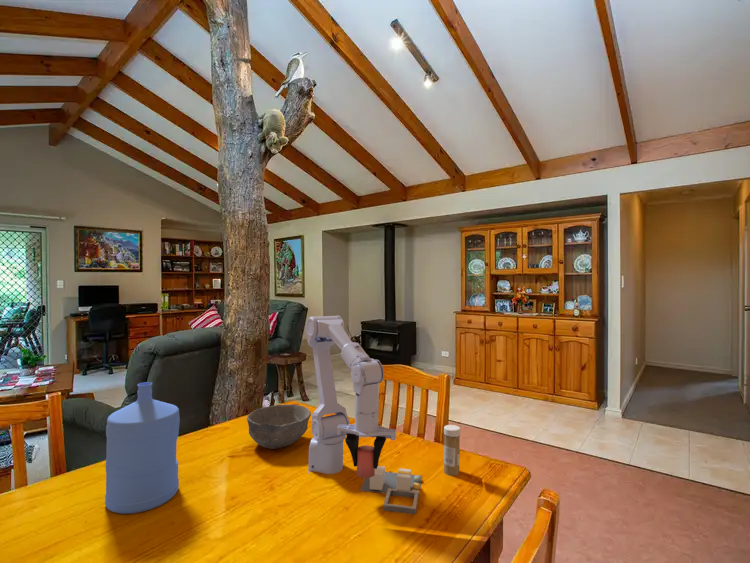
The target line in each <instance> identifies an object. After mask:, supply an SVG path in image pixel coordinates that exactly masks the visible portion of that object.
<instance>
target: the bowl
mask: <svg viewBox="0 0 750 563" xmlns="http://www.w3.org/2000/svg"><path fill="white" fill-rule="evenodd" d="M311 417H312V413H311V410H310V408H308V407H305V406H303V405H298V404H276V405H269V406H265V407H262V408H258V409H255V410H252V412H250V413H249V414H248V415H247V417H246V420H247V424H248V434H249V436H250V437H251V439H252V440H253V441H254V442H255V443H256V444H257V445H258V446H261V447H263V448H267V449H271V450H276V449H277V450H278V449H282V448H285V447H288V446H291V445H292V444H294V443H295V442H297V441H298V440H299V439H301V437H303V436H304V435H305V433H306V432H307V430H308V425H309V421H310V418H311Z"/></svg>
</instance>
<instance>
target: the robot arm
mask: <svg viewBox="0 0 750 563" xmlns="http://www.w3.org/2000/svg"><path fill="white" fill-rule="evenodd" d="M305 332H306V334H305V335H306V338H307V339H306V342H307V345H308V346H309V347H310V348H312V352H313V354H312V355H313V361H314V368H315V377H316V385H317V390H318V391H317V392H318V399H319V400H318V401H319V406H318V407H317V408H316V409H315V410H314V411H313V413H311V433H312V436H313V437H312V438H311V440H310V442H309V445H308V471H307V474H309V473H310V472H316V473H321V474H327V475H335V474H338V473H340V472H342V470H343V468H344V440H345V444H346V446H347V447H348V449H349V451H350V456H351V459H352V463H353V467H355V468H357V448H358V447H359V445H360V444H359V443H360V442H359V441H360V438H375V439H374V440H373V447H374V469H377V467H378V466H379V461H380V457H381V453H382V450H383V448H384V445H385V442H386V441H387V439H389V440H391V441H396V439H397V429H396V428H395V429H394V428H389V427H385V426H381V425H380V426H379V404H380V402H379V398H380V397H379V396H380V384H381V383H382V382H383V381H384V376H385V371H384V366H383V364H382V363H381V361H380V360H379V359H374V358H371V357H370V356H369V355H368V353H366V351H365V350H364V349H363V347H362V346H361V345H360V343H359V342H353V341H352V339H351V338H350V337H349V335H348V333H347V331H346V330H345V321H344V320H343V318H342V317H341V316H340V315H338V314H336V315H325V316H324V315H323V316H322V315H321V316H314V315H313V316H310V317H308V319H307V321H306V325H305ZM334 345H336V346H337V347H338V348H339V349H340V350H341V352H340V357H341V359H342V360H343V362H344V363H345V365H346V366H347V367H348V369H349V370H350V377H351V381H352V386H353V389H352V390H353V392H354V393H355V397H354V398H355V400H354V401H355V402H354V403H355V404H354V405H355V406H354V408H355V409H354V424H351V421H350V419H349V416H348V412H347V408H345V406H344V405H342V404H340V403H339V402H338V398H337V391H336V384H335V383H336V382H335V378H334V376H335V375H334V371H333V370H334V369H333V364H332V363H333V362H332V357H331V356H332V355H331V347H332V346H334ZM326 415H327V416H326Z"/></svg>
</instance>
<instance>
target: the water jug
mask: <svg viewBox="0 0 750 563" xmlns="http://www.w3.org/2000/svg"><path fill="white" fill-rule="evenodd" d="M152 386H153V382H149V381H147V382H145V381H144V382H139V383H138V384H137V392H136V393H137V399H136V400H135V401H134V402H131V403H130V404H128V405H126V406H124V407H122V408H119V409H118V410H116V411H114V412H112V413H111V414H109V415H108V417H107V420H106V427H105V436H106V459H105V494H104V504H105V507H106V508H107V510H109V511H110V512H113V513H116V514H124V515H125V514H127V515H128V514H137V513H142V512H147V511H149V510H152V509H155V508H157V507H159V506H161V505H164V504H165V503H167V502H168V501H170V500H171V499H172V498H173V497H174V496H175V495H176V493H177V492H178V490H179V486H180V484H179V482H180V481H179V461H178V459H177V442H178V438H179V434H180V432H179V431H180V423H181V421H180V417H181V416H180V408H179V407H178V406H177V405H176V404H172V403H168V402H164V401H162V400H161V401H160V400H157V399H154V398H153V394H152V393H153V389H152Z"/></svg>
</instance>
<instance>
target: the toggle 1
mask: <svg viewBox="0 0 750 563" xmlns="http://www.w3.org/2000/svg"><path fill="white" fill-rule="evenodd" d="M385 472H386V467H385V466H382V465H378V467H377V469H375V475H374V476H373V477H370V489H373V490H382V489H383V486H384V483H385Z"/></svg>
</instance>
